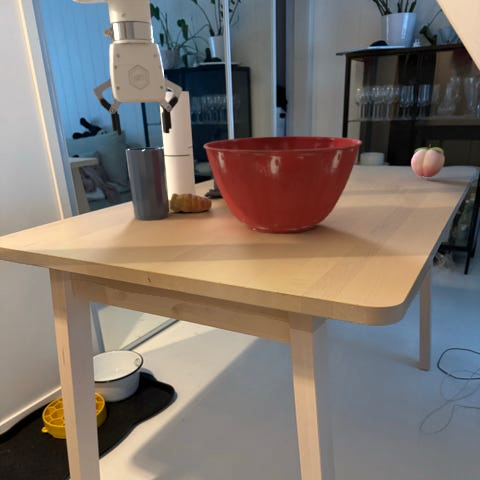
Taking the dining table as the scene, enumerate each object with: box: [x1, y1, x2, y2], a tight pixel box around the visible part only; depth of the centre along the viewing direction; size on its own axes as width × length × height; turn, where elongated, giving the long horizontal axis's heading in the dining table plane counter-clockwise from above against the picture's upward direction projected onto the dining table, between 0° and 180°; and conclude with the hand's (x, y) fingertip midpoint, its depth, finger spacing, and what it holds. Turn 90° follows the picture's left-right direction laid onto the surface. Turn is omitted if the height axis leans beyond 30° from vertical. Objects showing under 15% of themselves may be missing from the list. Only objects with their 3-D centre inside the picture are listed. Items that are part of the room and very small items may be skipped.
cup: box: [125, 146, 171, 221], centre depth 98 cm, size 8×8×14 cm
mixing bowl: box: [203, 135, 363, 234], centre depth 87 cm, size 28×28×15 cm
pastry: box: [169, 193, 213, 213], centre depth 105 cm, size 9×7×4 cm
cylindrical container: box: [159, 90, 197, 201], centre depth 115 cm, size 7×7×25 cm
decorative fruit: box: [410, 143, 446, 178], centre depth 136 cm, size 9×8×10 cm
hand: (143, 134), depth 94 cm, fingers open, 9 cm apart
